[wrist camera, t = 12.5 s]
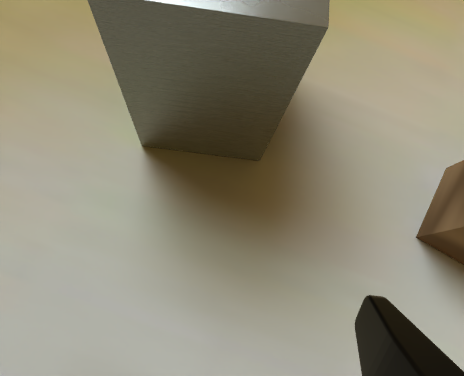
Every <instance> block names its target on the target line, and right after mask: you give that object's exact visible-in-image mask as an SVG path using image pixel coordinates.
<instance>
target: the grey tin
mask: <svg viewBox="0 0 464 376" xmlns="http://www.w3.org/2000/svg"><path fill="white" fill-rule="evenodd" d="M88 3H89V5H90V8H91V11H92V13H93V16H94V19H95V21H96V24H97V27H98V29H99V32H100V35H101V37H102V40H103V43H104V46H105V48H106V51H107V54H108V56H109V59H110V62H111V64H112V67H113V70H114V72H115V75H116V78H117V80H118V83H119V86H120V88H121V91H122V94H123V97H124V99H125V102H126V105H127V107H128V110H129V113H130V115H131V118H132V121H133V123H134V126H135V129H136V131H137V134H138V137H139V139H140V142H141V145H142V146H147V147H155V148H163V149H172V150H180V151H188V152H196V153H204V154H212V155H220V156H228V157H236V158H244V159H252V160H260V159H261V157H262V155H263V153H264V151H265V149H266V147H267V145H268V143H269V141H270V139H271V137H272V135H273V133H274V132H275V130H276V128H277V126H278V124H279V122H280V120H281V118H282V116H283V114H284V112H285V110H286V108H287V106H288V104H289V102H290V101H291V99H292V97H293V95H294V93H295V91H296V89H297V87H298V85H299V83H300V81H301V79H302V77H303V75H304V73H305V71H306V70H307V68H308V66H309V64H310V62H311V60H312V58H313V56H314V54H315V52H316V50H317V48H318V46H319V44H320V42H321V40H322V39H323V37H324V35H325V33H326V31H327V29H328V23H329V0H88Z"/></svg>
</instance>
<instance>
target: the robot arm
mask: <svg viewBox="0 0 464 376" xmlns="http://www.w3.org/2000/svg"><path fill="white" fill-rule="evenodd" d="M355 332H356V338H357V345H358V352H359V358H360V365H361V371H362V376H464V372H463V371H462V370H461V369H460V368H459V367H458V366H457V365H456V364H455V363H454V362H453V361H452V360H451V359H450V358H449V357H448V356H446V355H445V354H444V353H443V352H442V351H441V350H440V349H439V348H438V347H437V346H436V345H435V344H434V343H433V342H432V341H431V340H430V339H429V338H428V337H426V336H425V335H424V334H423V333H422V332H421V331H420V330H419V329H418V328H417V327H416V326H415V325H414V324H413V323H412V322H411V321H410V320H409V319H407V318H406V317H405V316H404V315H403V314H402V313H401V312H400V311H399V310H398V309H397V308H396V307H395V306H394V305H393V304H392V303H391V302H390V301H388V300H387V299H386V298H385V297H381V296H372V295H369V296H366V297H365V299H364V301H363V303H362V305H361V308H360V310H359V312H358V315H357V317H356V320H355Z"/></svg>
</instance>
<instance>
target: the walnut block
mask: <svg viewBox="0 0 464 376" xmlns="http://www.w3.org/2000/svg"><path fill="white" fill-rule="evenodd" d="M416 238H418V239H420V240H422V241H423V242H425V243H427V244H429V245H430V246H432V247H434V248H435V249H437V250H439V251H441V252H442V253H444V254H446V255H448V256H449V257H451V258H453V259H455V260H456V261H458V262H460V263H462V264H463V265H464V160H463V161H461V162H459V163H457V164H454V165H452V166H450V167H448V168H446V170H445V172H444V174H443V177H442V179H441V181H440V184H439V186H438V188H437V190H436V193H435V195H434V197H433V200H432V202H431V204H430V207H429V209H428V211H427V213H426V216H425V218H424V220H423V223H422V225H421V227H420V229H419V232H418V234H417V236H416Z"/></svg>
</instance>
